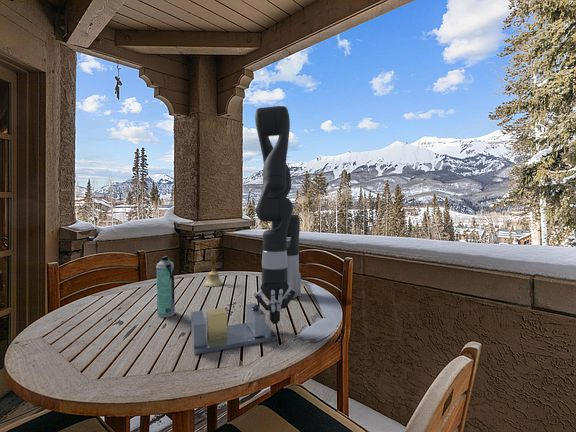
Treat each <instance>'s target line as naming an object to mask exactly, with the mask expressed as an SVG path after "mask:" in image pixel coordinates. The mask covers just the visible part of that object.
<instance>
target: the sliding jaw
mask: <svg viewBox="0 0 576 432" xmlns="http://www.w3.org/2000/svg"><path fill="white" fill-rule="evenodd" d="M245 306H246V307H245V308H246V312H245V313H246V319H245V321H246V322H245V323H246V324H247V325H248V327H249V328H250V330H251V332H252V333H253V335H254V337H259V336H265V322H266V313H265V312H264V311H263V310H262V308H261V307H260V305H259V304H258V303H257V302H252V303H246V304H245Z"/></svg>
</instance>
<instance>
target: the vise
mask: <svg viewBox="0 0 576 432" xmlns="http://www.w3.org/2000/svg"><path fill="white" fill-rule="evenodd" d="M204 313H205V312H203V310H197V311H196V310H195V311H191V312H190V315H191V316H190V318H191V319H190V320H191V322H190V323H191V324H190V325H191V326H190V327H191V330H190V333H191V335H190V336H191V341H192V348H193V354H194V355H200V354H201V355H202V354H207V353H211V352H218V351H224V350H230V349H235V348H242V347H247V346H253V345H258V344H264V343H269V342H270V343H272V342H276V341H278V336H277V334H276V333H275V332H274V330H273V329H272V328H271V326H269V325H268V323H267V322H266V321H265V336H259V337H254V335H253V333H252V332H251V330H250V328H249V327H248V325H247V324H246V322H245V323H243V322H242V323H239V324H237V323H236V324H231V325H230V324H229V325H227V338H221V339H214V340H208V336H207V319H206V316H205V314H204Z"/></svg>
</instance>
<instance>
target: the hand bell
mask: <svg viewBox="0 0 576 432" xmlns="http://www.w3.org/2000/svg"><path fill="white" fill-rule="evenodd" d="M210 262H211V271H210V272H208V273H207V279H206V282H205V283H204V284H203V285H204V286H205V287H207V286H209V288H212V287H214V286H216V287H219V285H220V286H222V285H223V284H222V283H223V281H222V280H221V279H220V277H219V272H217V271H216V262H217V253H216V250H211V254H210ZM221 284H222V285H221Z"/></svg>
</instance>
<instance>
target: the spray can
mask: <svg viewBox="0 0 576 432" xmlns="http://www.w3.org/2000/svg"><path fill="white" fill-rule="evenodd" d="M156 293H157V294H156V297H157V298H156V302H157V303H156V305H157V308H156V310H157V317H159V318H168V317H172V316H174V315H175V310H176V309H175V306H176V305H175V304H176V303H175V301H176V300H175V265H174V262H172V261H171V260H170V259H169V256H168V255H164V256H162V258H161V260H160V261H159V262H158V263H156Z"/></svg>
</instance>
